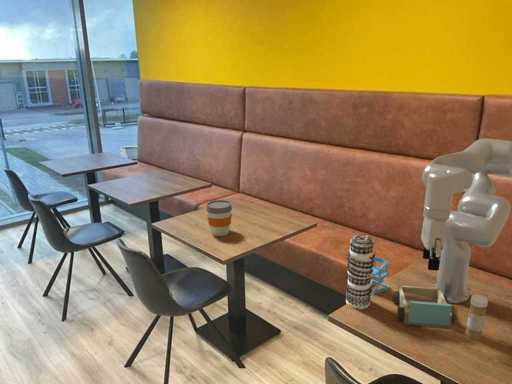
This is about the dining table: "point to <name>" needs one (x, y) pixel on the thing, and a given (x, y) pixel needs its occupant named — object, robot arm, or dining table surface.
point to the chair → (380, 275)
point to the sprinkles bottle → (476, 316)
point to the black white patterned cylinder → (360, 271)
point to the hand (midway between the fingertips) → (430, 263)
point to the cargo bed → (418, 300)
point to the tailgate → (429, 314)
